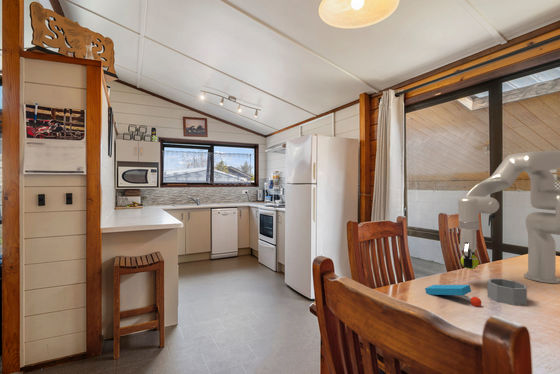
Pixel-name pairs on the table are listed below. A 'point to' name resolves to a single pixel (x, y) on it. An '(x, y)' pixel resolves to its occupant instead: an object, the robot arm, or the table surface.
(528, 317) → the table surface
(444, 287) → the lever
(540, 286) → the table surface
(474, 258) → the tennis ball
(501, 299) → the gray octagonal bowl
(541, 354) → the table surface
